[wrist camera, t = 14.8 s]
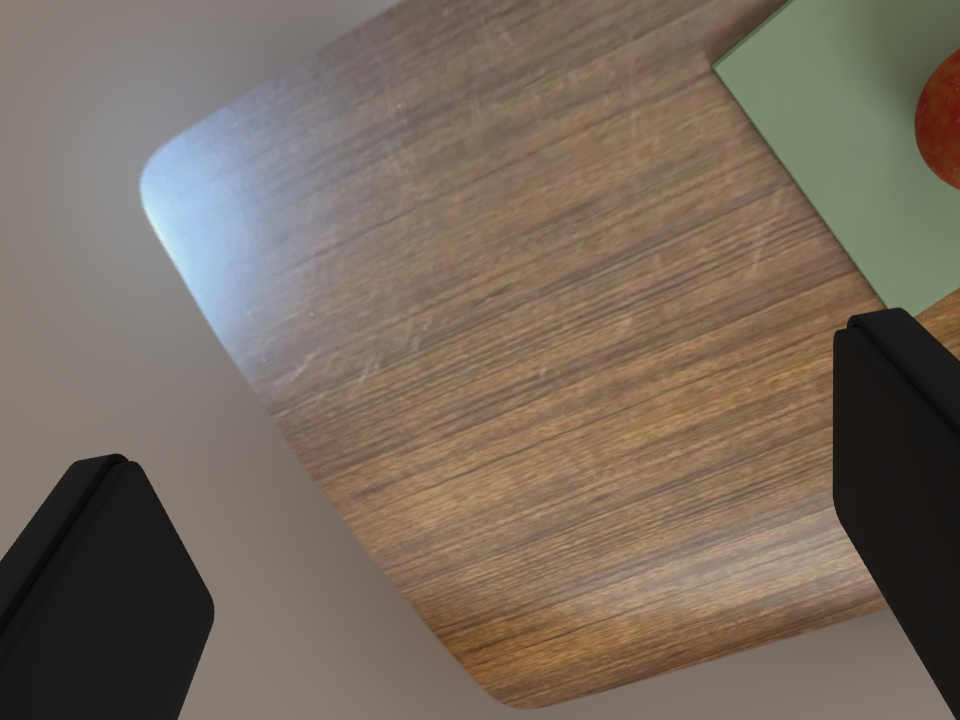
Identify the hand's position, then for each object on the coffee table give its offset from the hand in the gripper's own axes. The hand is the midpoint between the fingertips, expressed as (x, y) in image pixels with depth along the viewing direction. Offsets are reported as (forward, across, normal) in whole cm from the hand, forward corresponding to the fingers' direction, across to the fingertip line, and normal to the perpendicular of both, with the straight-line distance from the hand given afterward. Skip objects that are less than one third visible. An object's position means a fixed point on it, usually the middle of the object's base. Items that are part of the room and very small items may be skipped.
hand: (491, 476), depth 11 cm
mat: (+30, -22, +6) cm, 38 cm away
